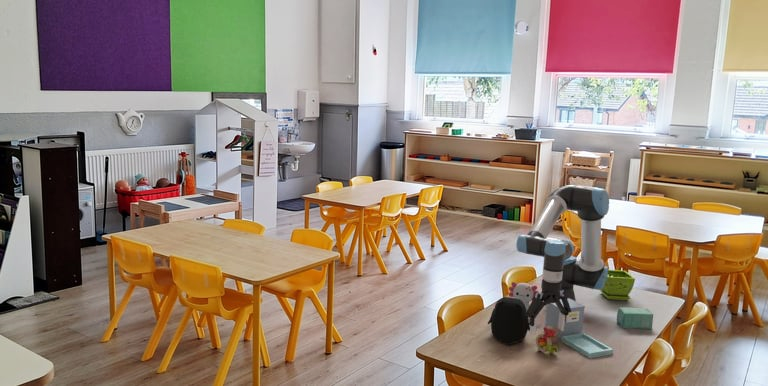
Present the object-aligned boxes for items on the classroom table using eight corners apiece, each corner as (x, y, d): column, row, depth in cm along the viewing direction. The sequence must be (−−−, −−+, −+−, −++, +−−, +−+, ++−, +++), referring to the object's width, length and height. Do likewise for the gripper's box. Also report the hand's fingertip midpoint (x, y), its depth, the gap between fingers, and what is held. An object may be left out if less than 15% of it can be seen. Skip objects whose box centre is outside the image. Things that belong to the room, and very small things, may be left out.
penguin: (531, 333, 266) (535, 295, 263) (527, 350, 250) (530, 309, 247) (490, 326, 272) (493, 289, 269) (482, 342, 255) (485, 302, 252)
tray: (561, 340, 260) (561, 336, 260) (583, 337, 265) (584, 333, 264) (589, 358, 245) (589, 353, 244) (612, 354, 250) (613, 349, 249)
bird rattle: (534, 358, 248) (553, 356, 241) (527, 330, 249) (546, 328, 243) (543, 354, 252) (562, 352, 245) (536, 326, 253) (555, 324, 247)
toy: (505, 314, 287) (508, 283, 285) (508, 308, 295) (511, 278, 292) (535, 319, 282) (538, 288, 280) (538, 314, 290) (541, 283, 287)
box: (615, 322, 284) (617, 306, 283) (645, 323, 284) (647, 307, 283) (622, 328, 277) (624, 312, 276) (652, 329, 277) (654, 314, 276)
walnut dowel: (541, 340, 260) (543, 326, 259) (551, 339, 262) (552, 325, 261) (549, 345, 255) (550, 331, 254) (559, 343, 257) (560, 330, 256)
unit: (543, 329, 272) (546, 300, 270) (565, 325, 277) (568, 298, 274) (559, 338, 262) (562, 309, 260) (582, 335, 267) (585, 306, 265)
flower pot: (633, 302, 311) (635, 278, 309) (605, 301, 311) (607, 277, 309) (622, 293, 325) (625, 269, 322) (596, 291, 325) (598, 268, 322)
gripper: (531, 285, 234) (526, 338, 238) (583, 280, 244) (578, 331, 247) (519, 279, 241) (514, 331, 244) (571, 274, 251) (565, 324, 254)
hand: (546, 331), depth 246 cm, fingers open, 13 cm apart
